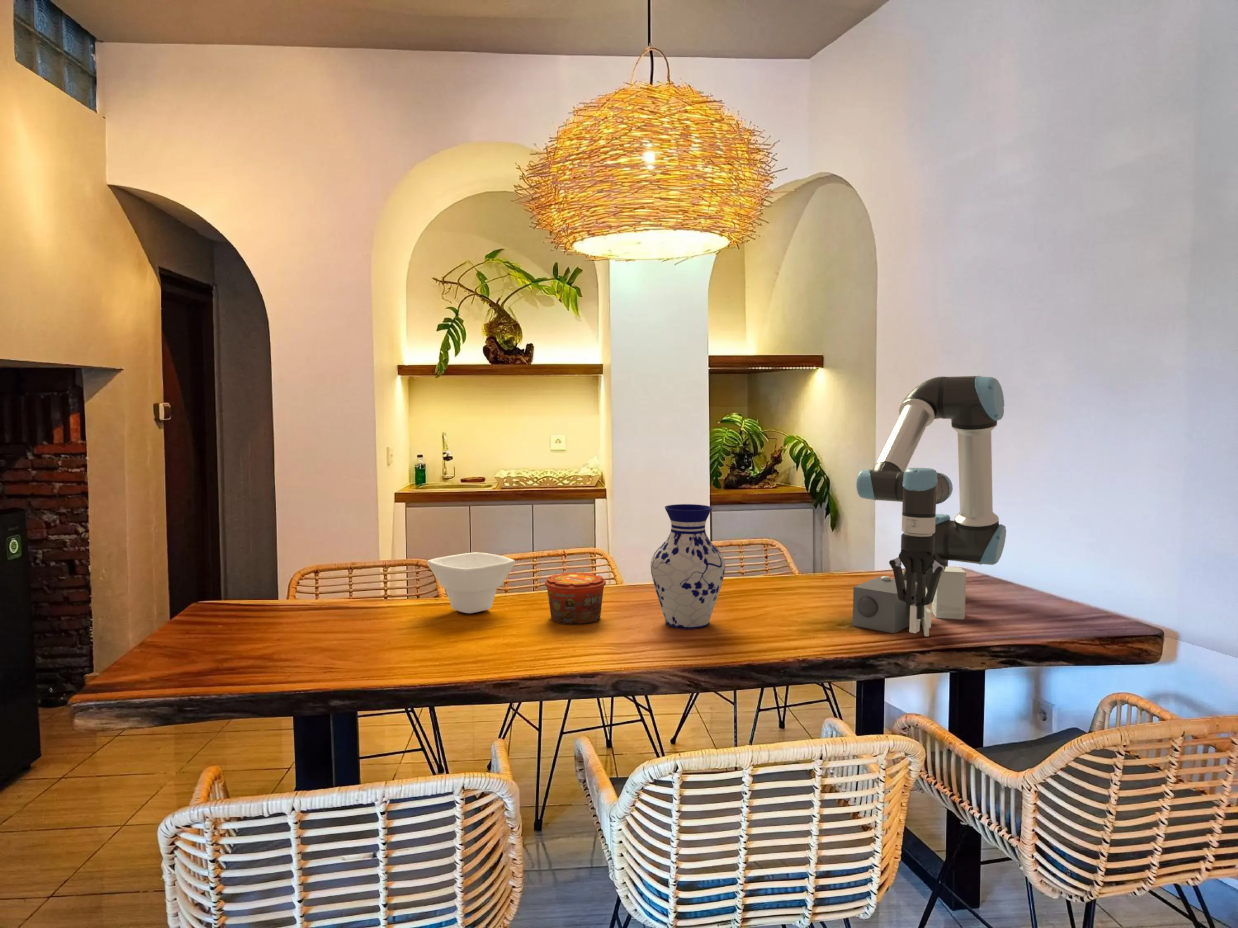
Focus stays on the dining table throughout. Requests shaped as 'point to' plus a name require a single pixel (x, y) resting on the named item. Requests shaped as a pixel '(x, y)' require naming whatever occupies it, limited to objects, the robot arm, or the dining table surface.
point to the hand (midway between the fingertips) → (914, 631)
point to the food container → (575, 597)
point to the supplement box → (950, 594)
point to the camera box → (880, 605)
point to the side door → (926, 619)
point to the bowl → (471, 578)
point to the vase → (687, 569)
